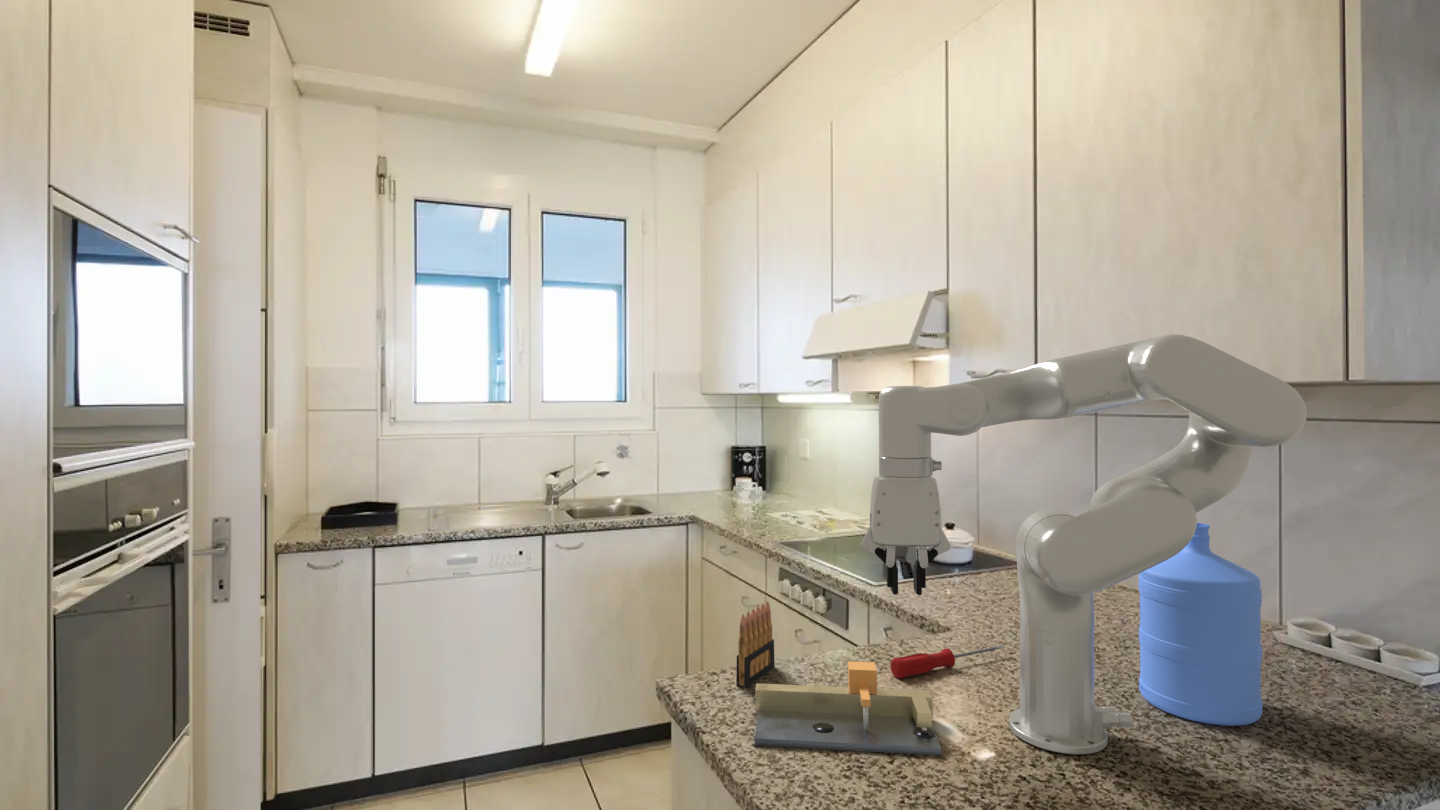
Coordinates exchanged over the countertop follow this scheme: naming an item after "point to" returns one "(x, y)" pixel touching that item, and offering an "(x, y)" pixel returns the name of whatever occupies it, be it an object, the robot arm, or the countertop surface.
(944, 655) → the screwdriver
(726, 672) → the countertop surface
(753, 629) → the ammunition clip
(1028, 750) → the countertop surface
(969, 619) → the countertop surface
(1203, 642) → the water jug
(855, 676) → the sliding head
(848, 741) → the drilled steel plate with beam
